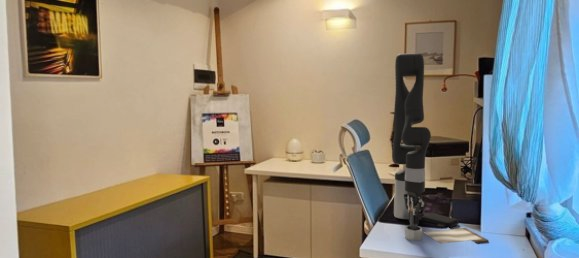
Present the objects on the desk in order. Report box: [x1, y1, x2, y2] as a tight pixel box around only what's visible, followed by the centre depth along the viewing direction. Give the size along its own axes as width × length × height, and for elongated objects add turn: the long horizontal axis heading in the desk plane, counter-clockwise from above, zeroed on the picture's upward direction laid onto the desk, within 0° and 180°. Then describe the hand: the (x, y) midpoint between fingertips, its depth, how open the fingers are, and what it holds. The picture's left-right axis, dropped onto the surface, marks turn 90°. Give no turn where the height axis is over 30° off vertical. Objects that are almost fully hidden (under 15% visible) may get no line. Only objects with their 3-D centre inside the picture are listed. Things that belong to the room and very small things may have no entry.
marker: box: [409, 206, 418, 230], centre depth 177 cm, size 3×3×12 cm
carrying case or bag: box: [419, 212, 460, 229], centre depth 198 cm, size 11×3×15 cm
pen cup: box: [404, 225, 423, 242], centre depth 178 cm, size 6×6×5 cm
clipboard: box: [422, 227, 489, 244], centre depth 181 cm, size 15×22×1 cm
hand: (413, 222), depth 177 cm, fingers closed on marker, 2 cm apart
